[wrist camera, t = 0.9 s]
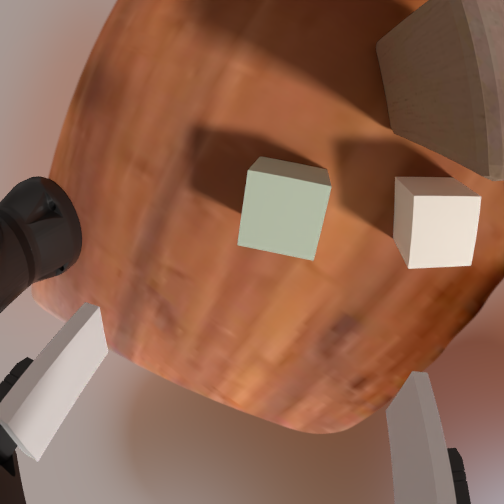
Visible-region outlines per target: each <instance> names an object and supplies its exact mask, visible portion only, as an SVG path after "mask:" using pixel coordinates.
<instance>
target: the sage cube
mask: <svg viewBox="0 0 504 504" xmlns="http://www.w3.org/2000/svg"><path fill="white" fill-rule="evenodd" d="M330 191H331V183H330V179H329V175H328V171H327V169H323V168H318V167H313V166H308V165H304V164H299V163H294V162H288V161H283V160H278V159H272V158H267V157H261V156H260V157H259V158H258V159H257V160H256V161H255V162H254V164H253V165H252V166H251V167H250V168H249V169H248V173H247V180H246V187H245V194H244V201H243V208H242V215H241V222H240V230H239V237H238V244H237V245H240V246H245V247H250V248H254V249H259V250H264V251H269V252H274V253H279V254H284V255H288V256H293V257H298V258H303V259H308V260H314V256H315V253H316V249H317V245H318V241H319V237H320V233H321V229H322V225H323V221H324V216H325V212H326V208H327V204H328V200H329V195H330Z"/></svg>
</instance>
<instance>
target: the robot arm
mask: <svg viewBox="0 0 504 504" xmlns="http://www.w3.org/2000/svg"><path fill="white" fill-rule="evenodd" d="M81 246H82V233H81V227H80V222H79V219H78V216H77V213H76V211H75V209H74V206H73V205H72V203H71V201H70V199H69V198H68V196H67V195H66V194H65V192H64V191H63V190H62V189H61V188H60V187H59V186H58V185H57V184H55V183H54V182H53V181H51V180H49V179H47V178H44V177H32V178H29V179H27V180H25V181H22V182H20V183H19V184H17V185H16V186H15V187H14V188H13V189H12V190H11V191H10V192H9V193H8V194H7V196H5V198H4V199H3V200H2V201H1V202H0V313H1V312H2V311H3V310H4V309H5V308H6V307H7V306H8V305H9V304H10V303H11V302H12V301H13V300H14V299H16V298H17V297H18V296H19V295H20V294H21V293H22V292H23V291H24V290H25V289H26V288H27V287H29V286H30V285H31V284H33V283H35V282H38V281H42V280H45V279H48V278H51V277H54V276H58V275H60V274H62V273H64V272H65V271H66V270H67V269H69V268H70V267H71V266H72V265H73V264H74V263H75V262H76V261H77V259H78V257H79V255H80V252H81ZM107 354H108V348H107V344H106V339H105V334H104V329H103V324H102V318H101V313H100V307H99V306H95V305H92V304H89V303H86V302H85V303H84V304H83V305H82V306H81V307H80V308H79V309H78V311H77V312H76V313H75V314H74V315H73V316H72V317H71V318H70V319H69V321H68V322H67V323H66V324H65V325H64V326H63V327H62V328H61V330H60V331H59V332H58V333H57V334H56V335H55V336H54V337H53V339H52V340H51V341H50V342H49V343H48V344H47V346H46V347H45V348H44V349H43V350H42V352H41V353H40V354H39V355H38V356H37V357H36V359H35V360H32V359H30V358H28V357H27V358H25V359H24V360H22V361H20V362H19V363H17V364H16V365H15V367H14V368H13V369H12V370H11V371H10V374H8V375H7V376H6V377H5V379H4V381H2V382H1V384H0V504H26V501H25V497H24V492H23V488H22V482H21V477H20V472H19V466H18V461H17V454H16V451H15V449H16V447H17V446H18V447H19V448H20V449H21V450H22V452H23V453H25V454H26V455H28V456H29V457H31V458H33V459H34V460H36V461H39V459H40V457H41V456H42V454H43V453H44V451H45V449H46V447H47V446H48V444H49V443H50V441H51V439H52V438H53V436H54V435H55V433H56V431H57V430H58V428H59V427H60V425H61V423H62V422H63V420H64V419H65V417H66V415H67V414H68V412H69V411H70V409H71V408H72V406H73V404H74V403H75V401H76V400H77V398H78V397H79V395H80V394H81V392H82V391H83V389H84V388H85V386H86V385H87V383H88V382H89V380H90V379H91V377H92V375H93V374H94V373H95V371H96V370H97V368H98V367H99V365H100V364H101V362H102V361H103V359H104V358H105V356H106V355H107ZM386 416H387V423H388V432H389V440H390V449H391V459H392V471H393V483H394V499H395V504H471V502H470V496H469V490H468V485H467V481H466V474H465V472H464V470H465V469H464V465H463V460H462V457H461V456H460V454H459V452H458V451H457V449H456V448H448V449H447V447H446V442H445V438H444V433H443V429H442V425H441V420H440V416H439V412H438V409H437V405H436V401H435V398H434V394H433V390H432V387H431V383H430V380H429V376H428V373H425V372H414V371H412V373H411V374H410V376H409V377H408V379H407V380H406V382H405V383H404V385H403V386H402V388H401V389H400V391H399V392H398V394H397V395H396V397H395V398H394V400H393V401H392V403H391V404H390V405H389V407H388V408H387V410H386Z"/></svg>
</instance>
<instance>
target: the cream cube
mask: <svg viewBox="0 0 504 504" xmlns="http://www.w3.org/2000/svg"><path fill="white" fill-rule="evenodd" d="M480 203H481V196H480V195H478V194H477V193H475V192H474V191H472V190H471V189H469V188H468V187H467V186H465V185H464V184H462V183H461V182H459V181H457V180H456V179H454V178H450V177H395V203H394V228H393V239H394V241H395V243H396V245H397V247H398V249H399V251H400V253H401V255H402V257H403V259H404V261H405V263H406V265H407V267H408V269H410V268H432V267H452V266H471V263H472V258H473V252H474V246H475V240H476V234H477V227H478V220H479V212H480Z"/></svg>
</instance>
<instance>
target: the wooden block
mask: <svg viewBox="0 0 504 504" xmlns="http://www.w3.org/2000/svg"><path fill="white" fill-rule="evenodd" d="M376 53H377V57H378V61H379V66H380V70H381V75H382V80H383V85H384V90H385V96H386V101H387V107H388V113H389V119H390V126H391V128H392V130H393V132H394V134H396V135H399V136H401V137H404V138H406V139H408V140H410V141H413V142H415V143H417V144H419V145H422V146H424V147H426V148H428V149H430V150H432V151H434V152H437V153H439V154H441V155H443V156H445V157H447V158H449V159H451V160H453V161H455V162H457V163H459V164H461V165H462V166H464V167H466V168H468V169H470V170H472V171H474V172H476V173H477V174H479V175H481V176H483V177H485V178H487V179H490V180H492V181H501V180H504V0H429V1H427V2H426V3H425V4H423V5H422V6H421V7H419V8H418V9H417V10H416V11H414V12H413V13H412V14H411V15H409V16H408V17H407V18H406V19H404V20H403V21H402V22H401V23H399V24H398V25H397V26H396V27H394V28H393V29H392V30H391V31H390V32H388V33H387V34H386V35H385V36H383V37H382V38H381V39H380V40H379V41H378V42H377V44H376Z"/></svg>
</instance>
